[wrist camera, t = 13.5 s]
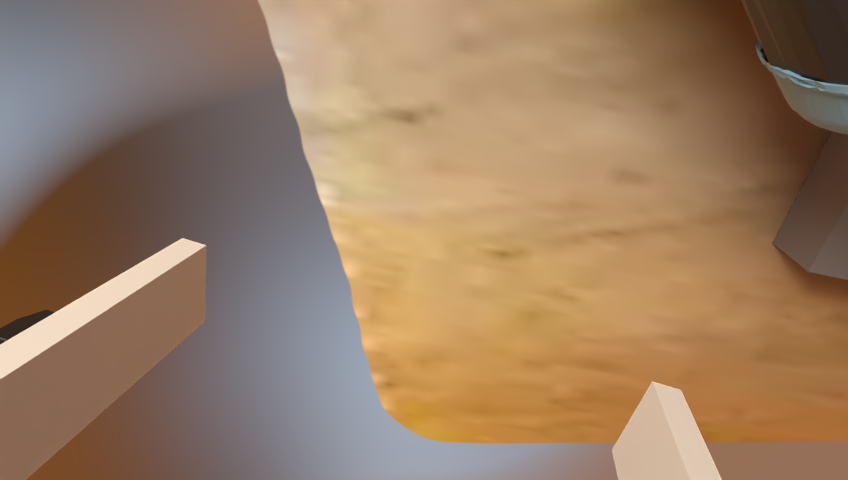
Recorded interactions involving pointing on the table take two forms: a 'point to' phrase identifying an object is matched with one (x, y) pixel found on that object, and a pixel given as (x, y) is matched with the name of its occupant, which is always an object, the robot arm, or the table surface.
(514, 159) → the table surface
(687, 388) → the table surface
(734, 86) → the table surface
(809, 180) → the charcoal block
